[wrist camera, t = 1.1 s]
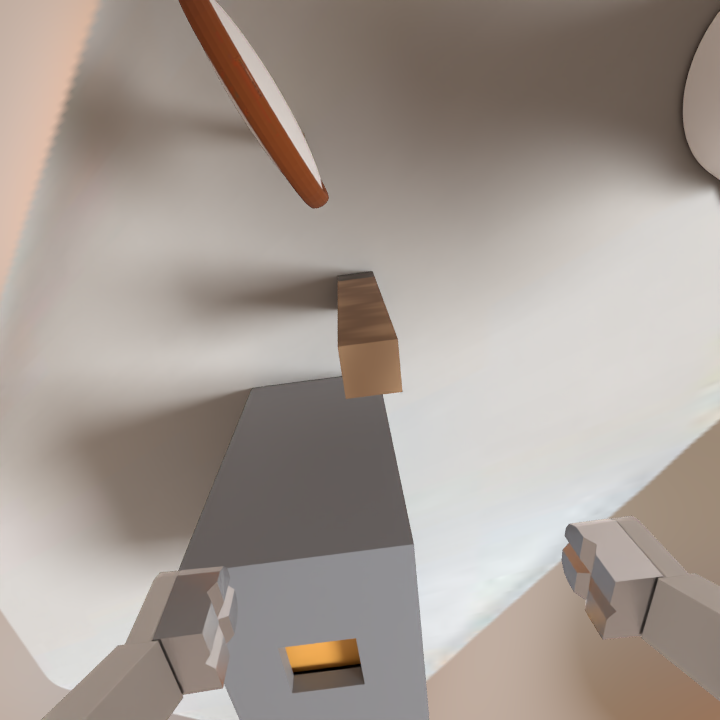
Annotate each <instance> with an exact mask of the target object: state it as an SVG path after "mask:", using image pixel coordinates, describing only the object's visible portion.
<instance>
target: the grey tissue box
mask: <svg viewBox="0 0 720 720" xmlns="http://www.w3.org/2000/svg"><path fill="white" fill-rule="evenodd" d="M221 566H226V567H227V568H228V571H229V574H230V580H229V584H228V586H230V587H231V588H233V589H234V590H235V593H236V597H237V604H238V613H237V624H236V629H235V634H234V636H233V637H232V638H231V639H230V641H229V642H228V643H227V644H226V645H227V648H228V651H229V654H230V658H229V662H228V667H227V672H226V676H225V681H224V685H225V687H226V689H227V692H228V694H229V696H230V699H231V701H232V703H233V705H234V708H235V710H236V712H237V715H238V717H239V719H240V720H429V711H428V699H427V688H426V677H425V665H424V654H423V643H422V632H421V620H420V609H419V598H418V587H417V575H416V564H415V553H414V543H413V538H412V533H411V529H410V524H409V519H408V514H407V509H406V505H405V500H404V495H403V490H402V485H401V481H400V476H399V471H398V466H397V461H396V457H395V452H394V447H393V442H392V437H391V433H390V428H389V423H388V418H387V413H386V409H385V404H384V399H383V394H381V395H373V396H366V397H358V398H350V399H346V398H345V391H344V384H343V378H342V377H334V378H327V379H319V380H311V381H303V382H296V383H288V384H280V385H272V386H265V387H257V388H252V390H251V392H250V395H249V397H248V399H247V402H246V404H245V407H244V409H243V412H242V414H241V417H240V419H239V422H238V424H237V427H236V429H235V432H234V434H233V437H232V439H231V442H230V444H229V446H228V449H227V451H226V454H225V456H224V459H223V461H222V464H221V466H220V469H219V471H218V474H217V476H216V479H215V481H214V484H213V486H212V489H211V491H210V493H209V496H208V498H207V501H206V503H205V506H204V508H203V511H202V513H201V516H200V518H199V521H198V523H197V526H196V528H195V531H194V533H193V535H192V538H191V540H190V543H189V545H188V548H187V550H186V553H185V555H184V558H183V560H182V563H181V565H180V568H179V570H178V571H180V570H189V569H199V568H210V567H221ZM353 638H356V641H357V646H358V651H359V656H360V662H361V664H355V665H347V666H339V667H331V668H323V669H315V670H308V671H300V672H293V671H292V668H291V665H290V662H289V659H288V655H287V652H286V649H285V647H291V646H299V645H306V644H314V643H322V642H330V641H338V640H346V639H353Z"/></svg>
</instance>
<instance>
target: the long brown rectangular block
mask: <svg viewBox="0 0 720 720" xmlns="http://www.w3.org/2000/svg"><path fill="white" fill-rule="evenodd" d="M338 351H339V358H340V365H341V371H342V378H343V384H344V391H345V398H346V399H350V398H358V397H366V396H373V395H381V394H389V393H397V392H402V383H401V371H400V360H399V348H398V338H397V336H396V333H395V330H394V328H393V325H392V322H391V320H390V317H389V314H388V312H387V309H386V306H385V304H384V301H383V298H382V296H381V293H380V290H379V288H378V285H377V282H376V279H375V277H374V274H373V271H372V272H365V273H357V274H349V275H341V276H338Z"/></svg>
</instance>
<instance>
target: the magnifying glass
mask: <svg viewBox="0 0 720 720" xmlns="http://www.w3.org/2000/svg"><path fill="white" fill-rule="evenodd" d="M179 2H180V5H181V7H182V9H183V11H184V13H185V15H186V17H187V19H188V21H189V23H190V25H191V27H192V29H193V31H194V32H195V34H196V36H197V38H198V40H199V41H200V43H201V45H202V47H203V48H204V50H205V52H206V54H207V57H208V58H209V60H210V62H211V64H212V66H213V68H214V70H215V72H216V74H217V76H218V78H219V80H220V81H221V83H222V85H223V87H224V89H225V90H226V92H227V94H228V95H229V97H230V99H231V100H232V102H233V104H234V105H235V107H236V109H237V110H238V112H239V113H240V115H241V117H242V118H243V120H244V121H245V123H246V124H247V126H248V127H249V129H250V130H251V132H252V133H253V135H254V136H255V138H256V139H257V141H258V142H259V144H260V145H261V146H262V148H263V149H264V151H265V152H266V153H267V155H268V156H269V157H270V159H271V160H272V161H273V163H274V164H275V165H276V166H277V167H278V169H279V170H280V171H281V172H282V174H283V175H284V176H285V177H286V179H287V180H288V181H289V183H290V184H291V185H292V187H293V188H294V189H295V191H296V192H297V193H298V194H299V196H300V197H301V198H302V199H303V200H304V202H305V203H306V204H307V205H308V206H310V207H311V208H319V207H321V206H323V205H324V204H326V203H327V201H328V199H329V196H328V193H327V191H326V188H325V186H324V184H323V182H322V181H321V179H320V176H319V173H318V169H317V166H316V164H315V161H314V159H313V156H312V153H311V151H310V149H309V147H308V144H307V142H306V140H305V136H304V134H303V132H302V131H301V129H300V127H299V125H298V123H297V122H296V120H295V118H294V116H293V114H292V112H291V110H290V108H289V106H288V105H287V103H286V101H285V99H284V97H283V96H282V94H281V92H280V90H279V89H278V87H277V85H276V84H275V82H274V80H273V79H272V77H271V75H270V74H269V72H268V71H267V69H266V67H265V66H264V64H263V63H262V61H261V60H260V58H259V57H258V55H257V54H256V52H255V51H254V49H253V48H252V46H251V45H250V44H249V42H248V41H247V39H246V38H245V36H244V35H243V34H242V32H241V31H240V30H239V28H238V27H237V26H236V24H235V23H234V22H233V21H232V19H231V18H230V17H229V15H228V14H227V13H226V12H225V11H224V10H223V8H222V7H221V6H220V5H219V4H218V3H217V2H216V0H179Z"/></svg>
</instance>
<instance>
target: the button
mask: <svg viewBox="0 0 720 720" xmlns="http://www.w3.org/2000/svg"><path fill="white" fill-rule="evenodd" d="M285 649H286V652H287V655H288V659H289V662H290V665H291V668H292V671H293V672H300V671H308V670H315V669H323V668H331V667H339V666H347V665H355V664H361V662H360V656H359V651H358V646H357V641H356V638H353V639H346V640H338V641H330V642H322V643H314V644H306V645H299V646H291V647H285Z"/></svg>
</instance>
